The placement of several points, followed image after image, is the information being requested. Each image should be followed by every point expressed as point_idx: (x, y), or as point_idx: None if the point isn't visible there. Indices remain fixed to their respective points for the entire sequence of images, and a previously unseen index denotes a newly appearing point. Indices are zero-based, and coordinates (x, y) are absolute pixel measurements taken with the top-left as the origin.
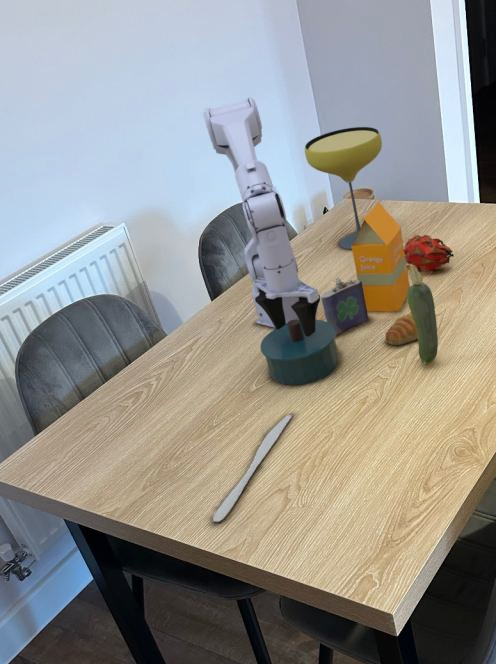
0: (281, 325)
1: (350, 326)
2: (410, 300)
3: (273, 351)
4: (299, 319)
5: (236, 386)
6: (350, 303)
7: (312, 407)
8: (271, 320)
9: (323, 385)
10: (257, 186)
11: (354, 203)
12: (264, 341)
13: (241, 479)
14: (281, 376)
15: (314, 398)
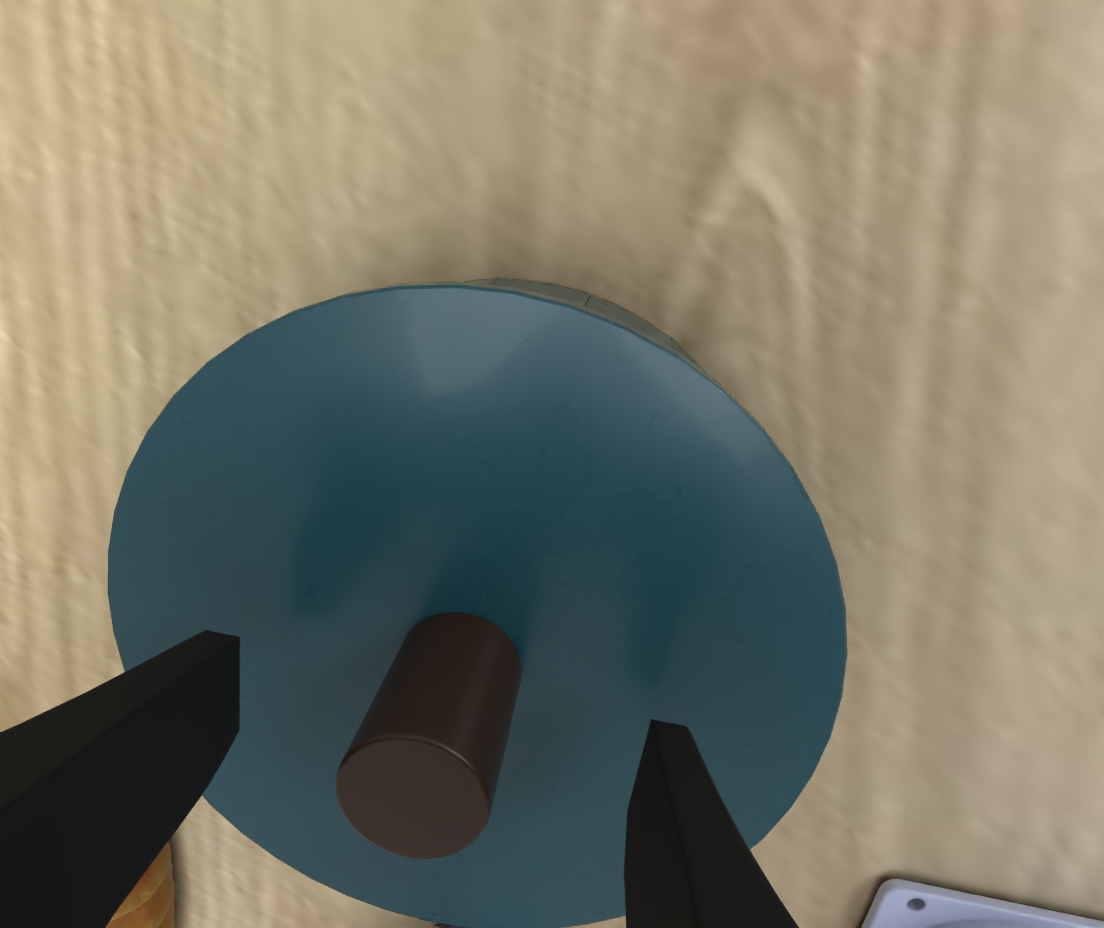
0: (638, 779)
1: (450, 925)
2: None
3: (569, 409)
4: (47, 771)
5: (948, 146)
6: None
7: (101, 41)
8: (714, 805)
9: (221, 335)
10: None
11: None
12: (801, 573)
13: None
14: (513, 285)
15: (170, 162)
